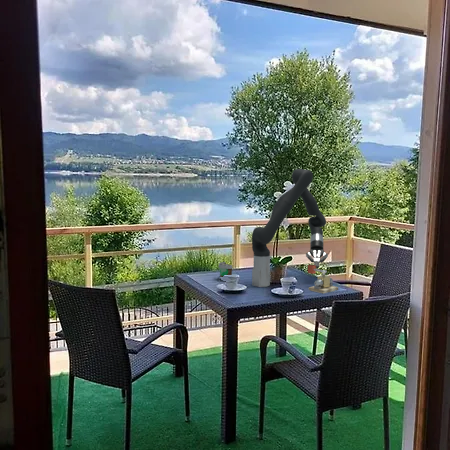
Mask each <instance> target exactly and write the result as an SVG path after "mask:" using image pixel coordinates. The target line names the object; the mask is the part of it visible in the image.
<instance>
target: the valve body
mask: <svg viewBox="0 0 450 450" xmlns="http://www.w3.org/2000/svg"><path fill="white" fill-rule="evenodd" d="M333 282H334V281H333V278H332V277H331V276H330V275H329V276H328V275H325V276H322V275H318V276H317V279H316V280H315V281H314V282H313V283H314V285H313V286H314V288H315V289H321V287H322V288H325V287H331V286H334V285H333Z"/></svg>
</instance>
